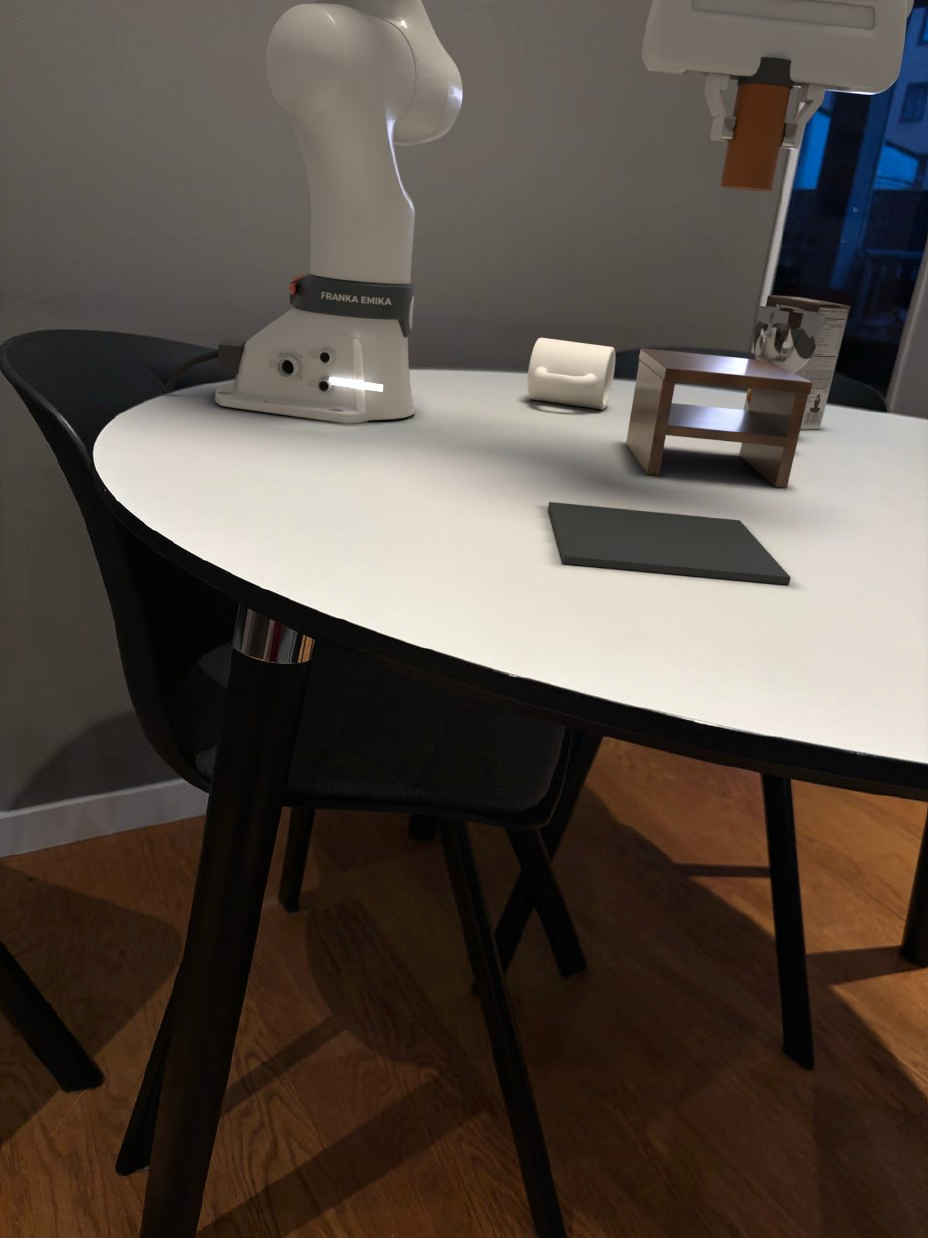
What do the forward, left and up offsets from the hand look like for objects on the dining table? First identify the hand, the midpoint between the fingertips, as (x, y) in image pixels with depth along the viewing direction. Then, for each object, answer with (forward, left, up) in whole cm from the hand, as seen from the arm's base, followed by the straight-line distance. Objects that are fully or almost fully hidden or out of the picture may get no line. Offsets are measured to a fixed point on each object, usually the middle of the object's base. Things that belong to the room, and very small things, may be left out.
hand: (753, 144), depth 80 cm
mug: (-8, +40, -30) cm, 51 cm away
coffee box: (+22, +44, -30) cm, 58 cm away
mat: (-6, -18, -29) cm, 35 cm away
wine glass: (+17, +34, -30) cm, 48 cm away
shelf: (+4, +12, -29) cm, 32 cm away
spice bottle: (0, 0, -3) cm, 3 cm away
